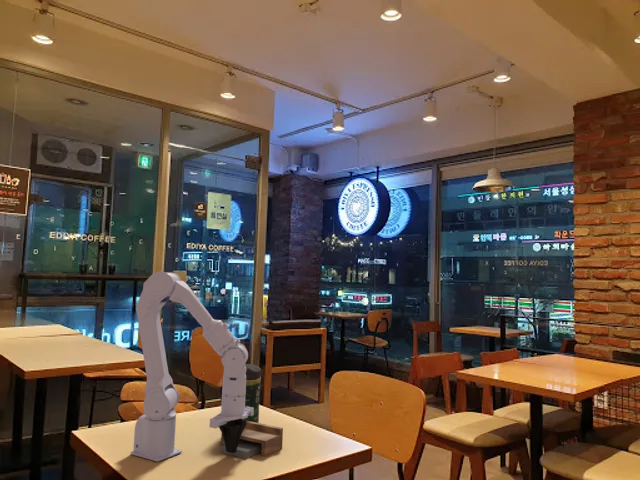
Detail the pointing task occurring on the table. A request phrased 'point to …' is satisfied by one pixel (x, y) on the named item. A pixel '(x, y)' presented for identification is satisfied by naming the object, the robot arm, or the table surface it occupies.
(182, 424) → the table surface
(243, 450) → the slate tile
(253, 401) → the coffee jar
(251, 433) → the walnut shelf
